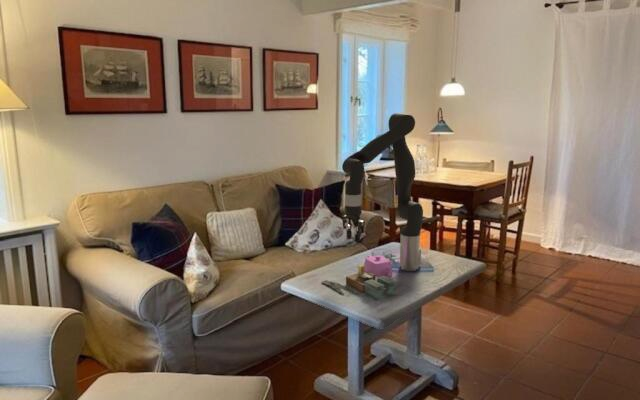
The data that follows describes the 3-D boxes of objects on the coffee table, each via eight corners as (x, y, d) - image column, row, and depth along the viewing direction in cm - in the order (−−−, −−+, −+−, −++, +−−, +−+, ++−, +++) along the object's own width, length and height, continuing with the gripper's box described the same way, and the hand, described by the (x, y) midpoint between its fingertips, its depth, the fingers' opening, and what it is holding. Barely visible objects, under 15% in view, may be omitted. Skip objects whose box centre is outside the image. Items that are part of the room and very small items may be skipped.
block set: (365, 279, 226) (365, 267, 224) (396, 294, 209) (396, 281, 207) (346, 284, 220) (346, 272, 218) (376, 300, 203) (376, 287, 201)
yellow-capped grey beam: (362, 274, 220) (362, 264, 219) (373, 280, 213) (373, 269, 212) (357, 275, 219) (357, 265, 217) (369, 281, 212) (369, 270, 211)
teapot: (398, 281, 223) (398, 260, 220) (378, 285, 218) (378, 264, 216) (378, 269, 239) (378, 249, 236) (359, 272, 234) (359, 252, 232)
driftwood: (319, 283, 223) (319, 279, 223) (332, 280, 227) (332, 276, 226) (346, 299, 206) (346, 295, 206) (359, 296, 210) (359, 291, 209)
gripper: (370, 205, 212) (369, 242, 216) (349, 199, 224) (350, 235, 228) (356, 208, 208) (356, 246, 212) (336, 202, 220) (336, 238, 224)
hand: (353, 240), depth 220 cm, fingers open, 5 cm apart
